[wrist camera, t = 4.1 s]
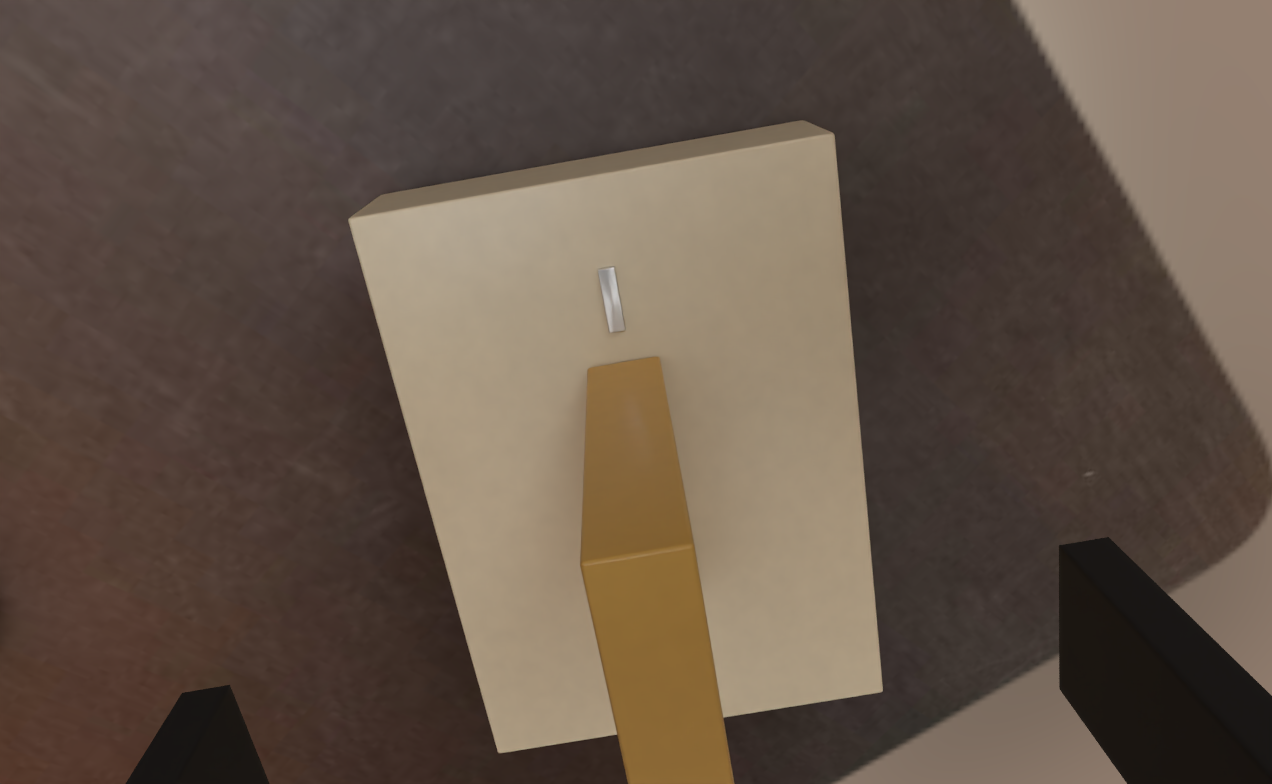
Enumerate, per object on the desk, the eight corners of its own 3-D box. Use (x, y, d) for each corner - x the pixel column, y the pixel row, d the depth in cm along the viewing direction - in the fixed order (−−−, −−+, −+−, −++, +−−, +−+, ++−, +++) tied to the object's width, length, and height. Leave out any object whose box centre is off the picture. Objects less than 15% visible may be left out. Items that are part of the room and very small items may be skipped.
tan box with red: (587, 367, 20) (577, 573, 12) (659, 355, 20) (696, 553, 12) (632, 599, 22) (649, 896, 15) (699, 588, 22) (750, 880, 15)
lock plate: (379, 194, 22) (344, 220, 19) (804, 119, 21) (836, 133, 18) (508, 679, 27) (497, 759, 24) (853, 623, 26) (885, 697, 24)
